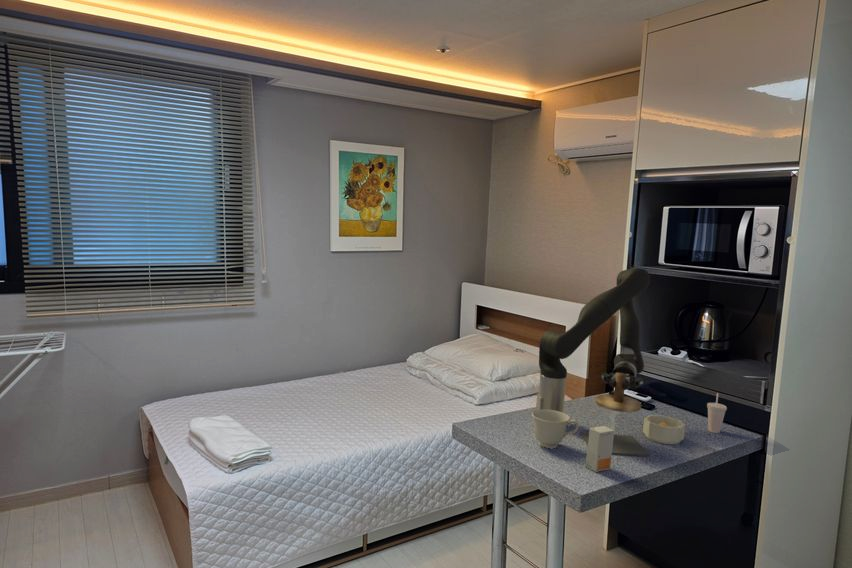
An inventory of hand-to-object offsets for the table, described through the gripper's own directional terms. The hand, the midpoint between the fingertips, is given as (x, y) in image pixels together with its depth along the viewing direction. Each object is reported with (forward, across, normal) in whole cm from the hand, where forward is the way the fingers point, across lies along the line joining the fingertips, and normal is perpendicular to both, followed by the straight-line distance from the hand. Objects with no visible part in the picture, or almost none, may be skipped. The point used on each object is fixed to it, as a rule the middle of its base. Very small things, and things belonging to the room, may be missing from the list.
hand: (619, 385), depth 178 cm
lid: (-3, 0, +7) cm, 8 cm away
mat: (-2, 0, +21) cm, 21 cm away
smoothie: (-38, +31, +22) cm, 53 cm away
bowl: (-19, +14, +21) cm, 32 cm away
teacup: (+10, -18, +21) cm, 29 cm away
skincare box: (+19, -2, +21) cm, 28 cm away
